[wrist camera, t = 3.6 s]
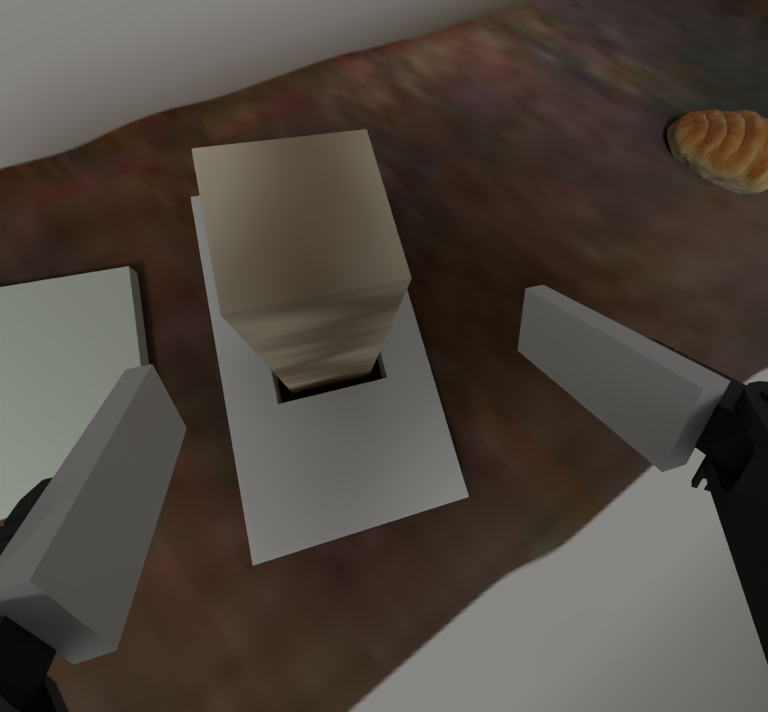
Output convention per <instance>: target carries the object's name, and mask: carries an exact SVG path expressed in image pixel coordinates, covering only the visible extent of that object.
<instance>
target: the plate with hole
mask: <svg viewBox="0 0 768 712" xmlns="http://www.w3.org/2000/svg"><path fill="white" fill-rule="evenodd" d="M191 203H192V209H193V214H194V220H195V226H196V232H197V238H198V244H199V250H200V256H201V262H202V268H203V274H204V280H205V286H206V292H207V297H208V303H209V309H210V315H211V321H212V327H213V333H214V339H215V345H216V351H217V357H218V363H219V369H220V375H221V380H222V386H223V392H224V398H225V404H226V410H227V416H228V422H229V428H230V434H231V440H232V446H233V452H234V457H235V463H236V469H237V475H238V481H239V487H240V493H241V499H242V505H243V511H244V517H245V523H246V529H247V535H248V540H249V546H250V552H251V558H252V564H253V565H256V564H259V563H262V562H265V561H269V560H272V559H275V558H278V557H281V556H284V555H287V554H291V553H294V552H297V551H300V550H303V549H306V548H309V547H312V546H316V545H319V544H322V543H325V542H328V541H331V540H334V539H338V538H341V537H344V536H347V535H350V534H353V533H356V532H360V531H363V530H366V529H369V528H372V527H375V526H378V525H382V524H385V523H388V522H391V521H394V520H397V519H400V518H404V517H407V516H410V515H413V514H416V513H419V512H422V511H426V510H429V509H432V508H435V507H438V506H441V505H444V504H447V503H451V502H454V501H457V500H460V499H463V498H466V497H469V496H468V493H467V489H466V486H465V483H464V479H463V476H462V473H461V469H460V466H459V462H458V459H457V456H456V452H455V449H454V446H453V442H452V439H451V435H450V432H449V429H448V425H447V422H446V419H445V415H444V412H443V408H442V405H441V402H440V398H439V395H438V392H437V388H436V385H435V381H434V378H433V375H432V371H431V368H430V365H429V361H428V358H427V355H426V351H425V348H424V344H423V341H422V338H421V334H420V331H419V328H418V324H417V321H416V317H415V314H414V311H413V307H412V304H411V301H410V297H409V294H408V290H406V292H405V295H404V297H403V299H402V302H401V304H400V306H399V308H398V311H397V313H396V315H395V318H394V320H393V322H392V325H391V327H390V329H389V331H388V334H387V336H386V338H385V341H384V343H383V345H382V347H381V350H380V352H379V354H378V357H377V361H378V365H379V368H380V372H381V376H382V379H380V380H376V381H371V382H367V383H363V384H359V385H355V386H351V387H347V388H343V389H338V390H334V391H330V392H326V393H322V394H318V395H314V396H310V397H306V398H301V399H297V400H293V401H289V402H285V403H282V399H281V394H280V389H279V384H278V379H277V375H276V374H275V373H274V372H273V371H272V370H271V369H270V368H269V367H268V366H267V365H266V364H265V362H264V361H263V360H262V359H261V358H260V357H259V356H258V355H257V354H256V353H255V352H254V351H253V350H252V348H251V347H250V346H249V345H248V344H247V343H246V342H245V341H244V340H243V339H242V338H241V337H240V336H239V334H238V333H237V332H236V331H235V330H234V329H233V328H232V327H231V326H230V325H229V324H228V323H227V322H226V320H225V319H224V318H223V317H222V316H221V314H220V308H219V303H218V297H217V291H216V285H215V280H214V274H213V268H212V263H211V257H210V251H209V245H208V240H207V234H206V228H205V223H204V217H203V211H202V205H201V200H200V196H194V197H191Z"/></svg>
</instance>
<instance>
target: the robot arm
mask: <svg viewBox="0 0 768 712" xmlns="http://www.w3.org/2000/svg"><path fill="white" fill-rule="evenodd" d="M518 351H519V352H520V353H521V354H522V355H524V356H525V357H526V358H527V359H528V360H529V361H531V362H532V363H533V364H534V365H535V366H537V367H538V368H539V369H540V370H541V371H543V372H544V373H545V374H546V375H547V376H549V377H550V378H551V379H552V380H553V381H554V382H556V383H557V384H558V385H559V386H560V387H562V388H563V389H564V390H565V391H566V392H568V393H569V394H570V395H571V396H572V397H574V398H575V399H576V400H577V401H578V402H579V403H581V404H582V405H583V406H584V407H585V408H587V409H588V410H589V411H590V412H591V413H593V414H594V415H595V416H596V417H597V418H599V419H600V420H601V421H602V422H603V423H604V424H606V425H607V426H608V427H609V428H610V429H612V430H613V431H614V432H615V433H616V434H618V435H619V436H620V437H621V438H622V439H624V440H625V441H626V442H627V443H628V444H629V445H631V446H632V447H633V448H634V449H635V450H637V451H638V452H639V453H640V454H641V455H643V456H644V457H645V458H646V459H647V460H649V461H650V462H651V463H652V464H653V465H655V466H656V467H657V468H658V469H659V470H660V471H662V472H664V471H667V470H670V469H673V468H676V467H679V466H682V465H685V464H686V463H687V461H688V459H689V458H690V456H691V454H692V452H693V450H694V448H695V447H696V448H697V449H699V450H700V451H701V452H703V453H704V454H705V455H706V456H705V458H704V460H703V461H702V463H701V465H700V467H699V469H698V470H697V472H696V474H695V476H694V477H693V479H692V487H694V488H697V487H698V485H699V483H700V482H701V480H702V479H707V482H708V483H707V485H706V487H705V488H704V490H707V491H710V492H711V495H712V498H713V501H714V504H715V507H716V509H717V513H718V516H719V519H720V521H721V525H722V528H723V531H724V534H725V537H726V540H727V543H728V546H729V549H730V552H731V555H732V558H733V561H734V564H735V567H736V570H737V573H738V576H739V579H740V582H741V585H742V588H743V591H744V594H745V597H746V600H747V603H748V606H749V609H750V612H751V615H752V618H753V621H754V624H755V627H756V630H757V633H758V636H759V639H760V642H761V645H762V648H763V651H764V654H765V657H766V660H767V663H768V382H764V381H758V382H752V383H749V384H748V385H745V384H743V383H741V382H739V381H737V380H735V379H733V378H731V377H729V376H727V375H725V374H723V373H721V372H719V371H717V370H715V369H713V368H711V367H709V366H707V365H705V364H703V363H701V362H699V361H697V360H695V359H693V358H688V356H687V355H685V354H683V353H681V352H679V351H674V349H673V348H671V347H669V346H667V345H665V344H663V343H662V342H660V341H658V340H654V339H651V338H648V337H645V336H642V335H640V334H638V333H636V332H634V331H632V330H630V329H629V328H627V327H625V326H623V325H621V324H619V323H617V322H615V321H613V320H611V319H609V318H607V317H605V316H603V315H601V314H599V313H597V312H595V311H593V310H592V309H590V308H588V307H586V306H584V305H582V304H580V303H578V302H576V301H574V300H572V299H570V298H568V297H566V296H564V295H562V294H560V293H558V292H556V291H555V290H553V289H551V288H549V287H547V286H545V285H540V286H535V287H530V288H525V296H524V303H523V311H522V319H521V327H520V335H519V343H518ZM186 429H187V428H186V426H185V424H184V422H183V421H182V419H181V417H180V415H179V413H178V411H177V409H176V407H175V406H174V404H173V402H172V400H171V398H170V396H169V394H168V392H167V391H166V389H165V387H164V385H163V383H162V381H161V379H160V377H159V376H158V374H157V372H156V370H155V368H154V366H153V364H149V365H145V366H140V367H135V368H130V369H126V370H125V371H124V373H123V374H122V376H121V377H120V379H119V380H118V382H117V383H116V385H115V386H114V388H113V389H112V390H111V392H110V393H109V395H108V396H107V398H106V399H105V401H104V402H103V404H102V405H101V407H100V408H99V410H98V411H97V413H96V414H95V416H94V417H93V419H92V420H91V422H90V423H89V425H88V426H87V428H86V429H85V431H84V432H83V434H82V435H81V437H80V438H79V440H78V441H77V443H76V444H75V445H74V447H73V448H72V450H71V451H70V453H69V454H68V456H67V457H66V459H65V460H64V462H63V463H62V465H61V466H60V468H59V469H58V471H57V472H56V474H55V475H54V477H51V478H47V479H43V480H42V481H41V482H39V483H38V484H37V485H36V486H35V487H34V488H33V489H32V490H30V491H29V492H28V493H27V494H26V495H25V496H24V497H23V498H22V499H20V500H19V502H18V503H17V504H16V506H15V507H14V509H13V510H12V511H11V513H10V514H9V516H8V517H7V518H6V520H5V521H4V526H1V527H0V712H69V711H68V709H67V707H66V704H65V702H64V700H63V698H62V695H61V693H60V691H59V689H58V687H57V684H56V682H54V681H53V680H52V679H51V678H50V677H49V676H47V675H46V674H47V672H48V670H49V667H50V665H51V663H52V661H53V658H54V656H55V654H56V653H58V654H59V655H61V656H62V657H64V658H65V659H67V660H68V661H70V662H71V663H72V664H76V663H79V662H82V661H85V660H88V659H92V658H95V657H98V656H101V655H104V654H107V653H110V652H113V651H116V650H117V647H118V644H119V641H120V638H121V635H122V632H123V628H124V625H125V622H126V619H127V616H128V613H129V609H130V606H131V603H132V600H133V597H134V593H135V590H136V587H137V584H138V581H139V578H140V574H141V571H142V568H143V565H144V562H145V559H146V555H147V552H148V549H149V546H150V543H151V540H152V536H153V533H154V530H155V527H156V524H157V521H158V517H159V514H160V511H161V508H162V505H163V502H164V498H165V495H166V492H167V489H168V486H169V483H170V479H171V476H172V473H173V470H174V467H175V464H176V460H177V457H178V454H179V451H180V448H181V444H182V441H183V438H184V435H185V432H186Z"/></svg>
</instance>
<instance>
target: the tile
mask: <svg viewBox="0 0 768 712" xmlns="http://www.w3.org/2000/svg"><path fill="white" fill-rule="evenodd" d="M145 365H149V359H148V351H147V343H146V335H145V328H144V320H143V312H142V304H141V296H140V288H139V280H138V274H137V273H136V272H135V271H134V270H133V269H131V268H130V267H129V266H127V267H121V268H115V269H109V270H103V271H96V272H90V273H84V274H78V275H72V276H66V277H60V278H53V279H47V280H41V281H35V282H29V283H23V284H17V285H10V286H4V287H0V520H3V519H6V518H7V517H8V516H9V514H10V513H11V511H12V510H13V509H14V507H15V506H16V504H17V503H18V502H19V500H20V499H22V498H23V497H24V496H25V495H26V494H27V493H28V492H29V491H30V490H32V489H33V488H34V487H35V486H36V485H37V484H38V483H39V482H41V481H42V480H43V479H47V478H51V477H54V475H55V474H56V472H57V471H58V469H59V468H60V466H61V465H62V463H63V462H64V460H65V459H66V457H67V456H68V454H69V453H70V451H71V450H72V448H73V447H74V445H75V444H76V443H77V441H78V440H79V438H80V437H81V435H82V434H83V432H84V431H85V429H86V428H87V426H88V425H89V423H90V422H91V420H92V419H93V417H94V416H95V414H96V413H97V411H98V410H99V408H100V407H101V405H102V404H103V402H104V401H105V399H106V398H107V396H108V395H109V393H110V392H111V390H112V389H113V388H114V386H115V385H116V383H117V382H118V380H119V379H120V377H121V376H122V374H123V373H124V371H125V370H126V369H130V368H135V367H140V366H145Z"/></svg>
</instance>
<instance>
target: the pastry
mask: <svg viewBox="0 0 768 712" xmlns="http://www.w3.org/2000/svg"><path fill="white" fill-rule="evenodd" d="M667 139H668V143H669V147H670V150H671V153H672V154H673V156H674V157H675V158H676V159H677V160H679V161H681V162H683V163H684V164H686V165H687V166H688V167H689V168H690V169H691V170H693V171H694V172H695V173H696V174H697V175H698V176H699V177H700V178H702V179H707V180H709V181H711V182H713V183H715V184H717V185H720V186H722V187H723V188H725V189H728V190H730V191H734V192H736V193H740V194H744V195H748V194H759V193H761V192H763V191H764V190H766V189H767V188H768V119H766V118H763V117H762V116H759V115H758V114H757V113H756V112H753V111H748V110H742V111H737V112H730V111H723V112H721V111H719V110H700V111H690V112H688V113H686V114H685V115H683V116H682V117H680V118H679V119H678V120H677V121H675V122H674V123H672V124H671V125H670V126H669V127H668V131H667Z"/></svg>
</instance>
